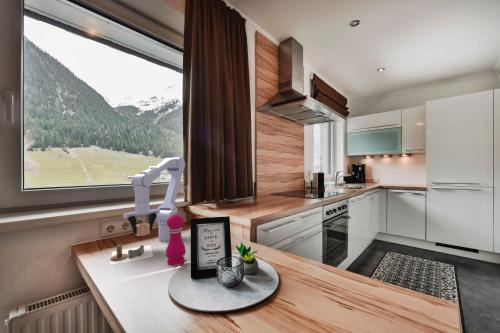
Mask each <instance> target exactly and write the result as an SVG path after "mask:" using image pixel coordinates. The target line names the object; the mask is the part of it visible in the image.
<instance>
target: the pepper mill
mask: <svg viewBox="0 0 500 333" xmlns="http://www.w3.org/2000/svg"><path fill="white" fill-rule="evenodd" d="M167 225H168V227H169V229H168V230H169V231H168V232H169V233H170V240H169V241H168V243H167V244H168V245H167V246H166V248H165V249H166V250H165V257H166V259H167V260H166V262H167V265H168V266H173V268H178V267H180V266H183V265H184V264H185V255H186V251H187V250H186V247H185V246H186V245H185V244H184V241H183V239H182V232H183V227H182V226H183V225H184V218H183V216H182V215H180V214H178V210H177V211H174V212H173V215H172V216H170V217H169V218H168V220H167Z"/></svg>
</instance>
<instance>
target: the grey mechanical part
mask: <svg viewBox="0 0 500 333" xmlns="http://www.w3.org/2000/svg"><path fill="white" fill-rule="evenodd" d="M144 246H145V245H139V247H140V248H138V249H136V250H128V258H132V257H136V256H141V255H142V253H144Z"/></svg>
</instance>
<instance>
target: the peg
mask: <svg viewBox="0 0 500 333" xmlns="http://www.w3.org/2000/svg"><path fill="white" fill-rule="evenodd" d="M122 250H123V245H122V244H117V245H116V251H117V255H115V256H112V255H111V256H112V257H110V260H111V261H120V260H124V259H126V258H127V257H128V254H122Z"/></svg>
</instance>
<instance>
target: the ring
mask: <svg viewBox="0 0 500 333" xmlns="http://www.w3.org/2000/svg"><path fill="white" fill-rule="evenodd" d="M150 234H151V231H150V224H148V223H145V222H144V223H138V224H136V234H134V235H135V236H137V237H141V236H142V237H143V236H147V235H150Z"/></svg>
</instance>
